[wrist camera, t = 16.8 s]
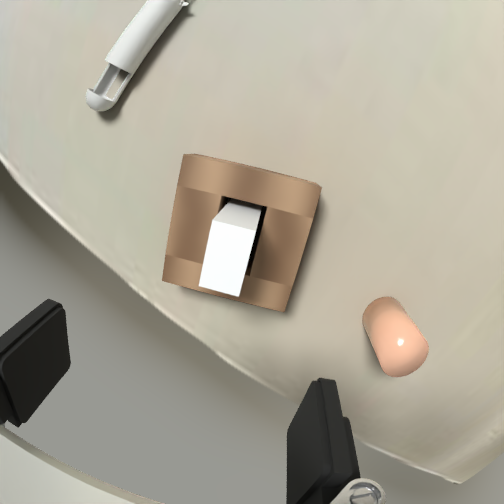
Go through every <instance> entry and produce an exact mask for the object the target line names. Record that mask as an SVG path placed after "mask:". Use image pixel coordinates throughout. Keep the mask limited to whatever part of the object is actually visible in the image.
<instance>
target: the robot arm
mask: <svg viewBox="0 0 504 504" xmlns="http://www.w3.org/2000/svg"><path fill="white" fill-rule="evenodd" d="M70 363H71V361H70V353H69V345H68V336H67V326H66V315H65V310H64V309H63V306H62V304H60V303H58V302H56V301H53V300H50V299H47V300H46V301H44V302H43V303H42V304H40V305H39V306H38V307H37V308H35V309H34V310H33V311H31V312H30V313H29V314H28V315H26V316H25V317H24V318H23V319H21V320H20V321H19V322H18V323H16V324H15V325H14V326H13V327H12V328H10V329H9V330H8V331H7V332H6V333H4V334H3V335H2V336H1V337H0V504H164V503H161V502H158V501H155V500H151V499H148V498H145V497H142V496H139V495H137V494H134V493H131V492H128V491H126V490H123V489H120V488H118V487H115V486H113V485H110V484H108V483H105V482H103V481H101V480H99V479H96V478H94V477H92V476H90V475H87V474H85V473H83V472H81V471H79V470H77V469H75V468H73V467H71V466H69V465H67V464H65V463H63V462H61V461H59V460H57V459H56V458H54V457H52V456H50V455H48V454H46V453H45V452H43V451H41V450H40V449H38V448H36V447H34V446H33V445H31V444H29V443H27V442H26V441H25V440H23V439H22V438H20V437H18V436H17V435H15V434H14V433H12V432H11V431H9V430H8V429H6V428H5V422H6V421H7V420H8V421H9V422H11V423H12V424H13V425H15V426H17V427H19V426H20V425H21V424H22V423H26V422H27V421H28V419H29V418H30V417H31V415H32V414H33V413H34V412H35V410H36V409H37V408H38V406H39V405H40V404H41V403H42V402H43V400H44V399H45V398H46V396H47V395H48V394H49V393H50V392H51V390H52V389H53V388H54V387H55V385H56V384H57V383H58V382H59V380H60V379H61V378H62V377H63V376H64V374H65V373H66V372H67V371H68V369H69V367H70ZM385 502H386V495H385V492H384V490H383V489H382V487H381V486H380V485H379V484H378V483H376V482H374V481H372V480H370V479H365V478H360V472H359V466H358V461H357V456H356V451H355V446H354V440H353V435H352V430H351V425H350V421H349V419H348V418H347V417H343V416H342V411H341V406H340V401H339V396H338V391H337V386H336V382H335V380H330V379H324V378H319V379H318V380H317V381H312V382H311V384H310V386H309V388H308V390H307V392H306V394H305V396H304V399H303V401H302V402H301V404H300V406H299V408H298V411H297V412H296V414H295V416H294V418H293V420H292V422H291V424H290V426H289V428H288V432H287V504H385Z"/></svg>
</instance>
